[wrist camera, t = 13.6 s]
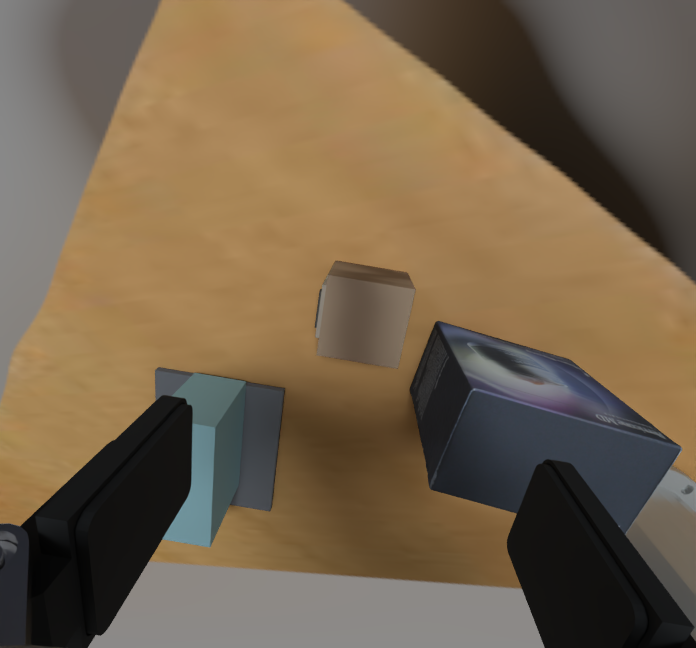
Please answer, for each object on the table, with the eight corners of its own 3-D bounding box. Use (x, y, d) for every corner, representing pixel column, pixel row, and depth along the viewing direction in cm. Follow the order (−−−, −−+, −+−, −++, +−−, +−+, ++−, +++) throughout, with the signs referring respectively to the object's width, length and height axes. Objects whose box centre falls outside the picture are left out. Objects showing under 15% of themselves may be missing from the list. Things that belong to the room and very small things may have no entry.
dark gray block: (284, 388, 29) (283, 391, 29) (271, 506, 33) (270, 511, 32) (158, 367, 29) (155, 370, 29) (160, 488, 33) (157, 492, 33)
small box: (576, 354, 27) (696, 447, 17) (536, 428, 29) (623, 549, 19) (436, 314, 26) (475, 386, 17) (406, 392, 29) (426, 496, 19)
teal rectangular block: (246, 381, 28) (215, 427, 23) (238, 484, 32) (210, 547, 26) (194, 372, 28) (150, 416, 23) (192, 476, 32) (153, 537, 26)
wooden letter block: (407, 272, 26) (415, 289, 21) (393, 338, 27) (397, 368, 23) (329, 259, 26) (320, 273, 21) (319, 326, 27) (309, 353, 23)
